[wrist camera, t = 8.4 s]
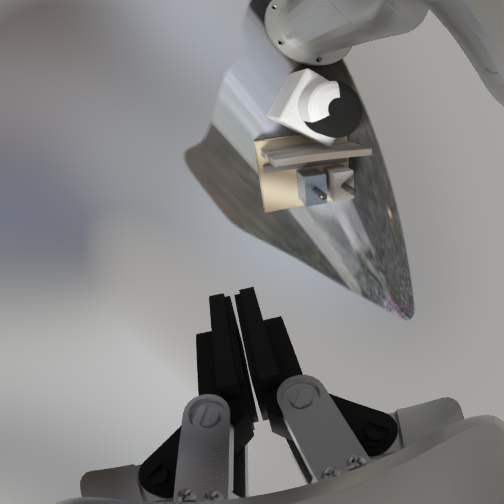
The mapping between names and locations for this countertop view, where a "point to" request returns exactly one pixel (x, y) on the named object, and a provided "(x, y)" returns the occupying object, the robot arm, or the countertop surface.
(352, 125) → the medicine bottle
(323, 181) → the sliding pin
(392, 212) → the countertop surface
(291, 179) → the board
